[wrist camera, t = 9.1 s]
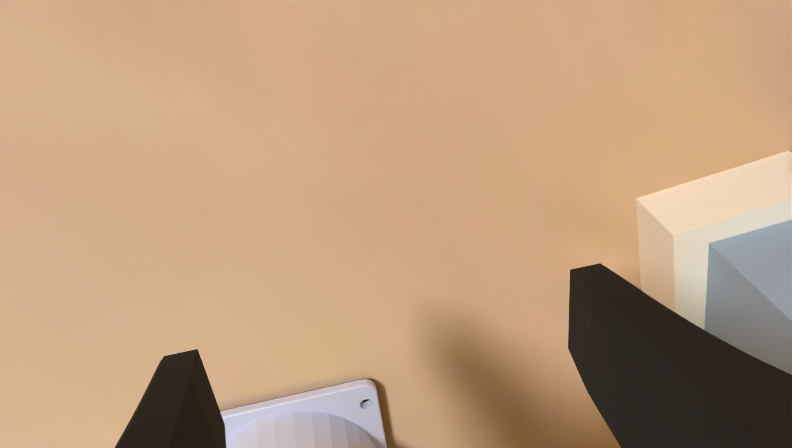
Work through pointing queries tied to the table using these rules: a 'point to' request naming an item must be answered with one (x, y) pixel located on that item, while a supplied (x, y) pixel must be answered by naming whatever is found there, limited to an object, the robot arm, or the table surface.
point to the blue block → (753, 293)
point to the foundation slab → (705, 227)
